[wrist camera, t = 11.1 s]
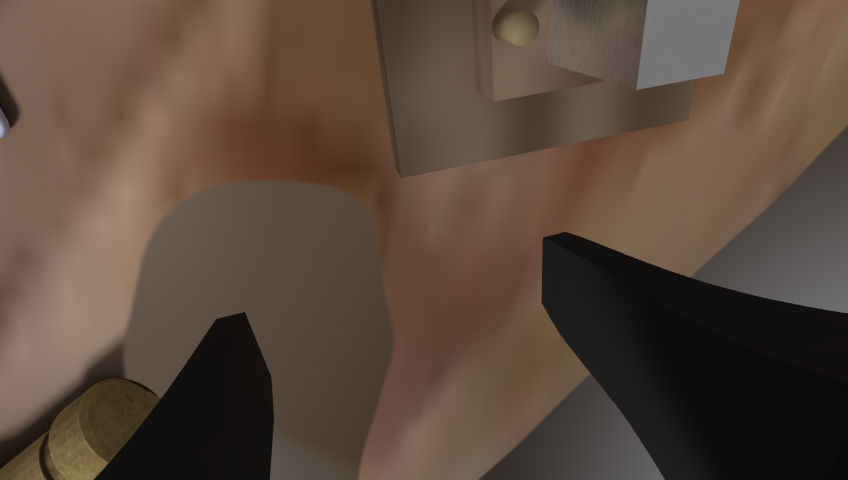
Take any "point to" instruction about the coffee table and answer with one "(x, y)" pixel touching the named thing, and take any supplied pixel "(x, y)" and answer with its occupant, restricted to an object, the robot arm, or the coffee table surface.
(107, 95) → the coffee table surface
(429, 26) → the board
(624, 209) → the coffee table surface
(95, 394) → the gavel
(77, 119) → the coffee table surface
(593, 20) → the steel bar
